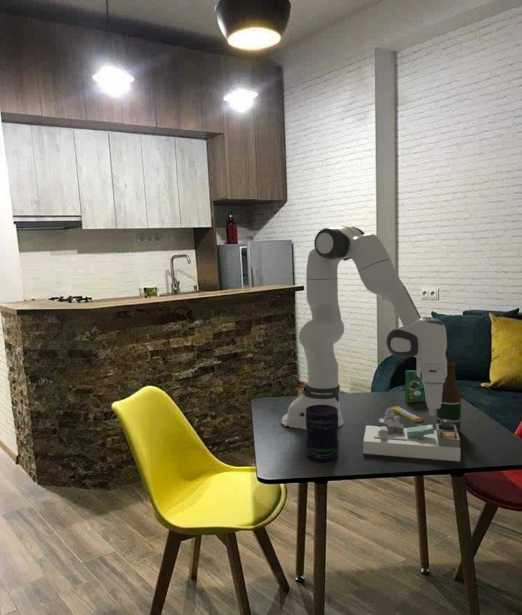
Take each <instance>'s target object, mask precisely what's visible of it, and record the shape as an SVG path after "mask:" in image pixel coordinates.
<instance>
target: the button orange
mask: <svg viewBox="0 0 522 615" xmlns="http://www.w3.org/2000/svg"><path fill="white" fill-rule="evenodd" d="M442 438H453V439H455V434H454V433H450V432H444V433H442Z"/></svg>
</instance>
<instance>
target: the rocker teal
mask: <svg viewBox="0 0 522 615" xmlns="http://www.w3.org/2000/svg"><path fill="white" fill-rule="evenodd" d="M406 428H407V436H408V437H412V436H418V431H423V435H428V434H434V430H435V429H434V425H433V424H426V425H423V426H410V427H406Z"/></svg>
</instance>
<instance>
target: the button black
mask: <svg viewBox="0 0 522 615" xmlns="http://www.w3.org/2000/svg"><path fill="white" fill-rule="evenodd" d="M440 428H441V429H442V430H452V429H453V421H452V420H449V419H441V422H440Z"/></svg>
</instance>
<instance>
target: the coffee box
mask: <svg viewBox="0 0 522 615" xmlns="http://www.w3.org/2000/svg"><path fill="white" fill-rule="evenodd" d="M404 377H405V379H404V380H405V382H404V383H405V384H404V385H405V386H404V387H405V388H404V402H405V403H406V404H409V403H411V404H412V403H424V402H425V403H426V396H425V390H424V384H423V382H422V381H421V379H420V378H419V377H418V376H417V369H414V370H413V369H412V370H411V369H410V370H405V376H404Z"/></svg>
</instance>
